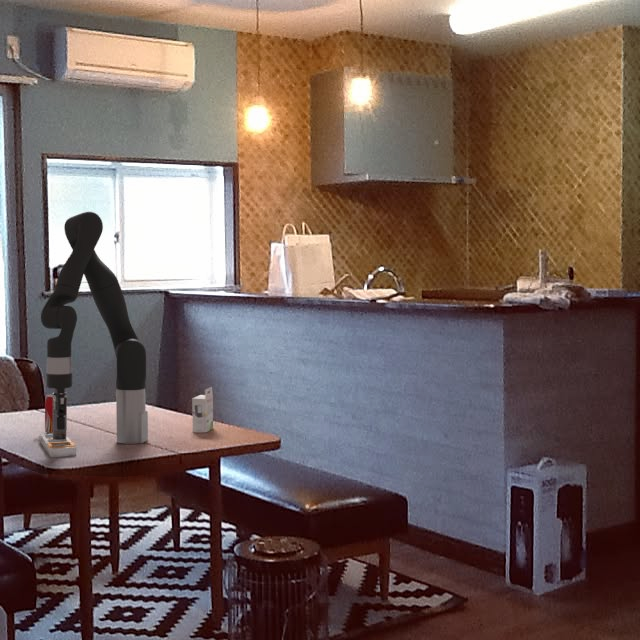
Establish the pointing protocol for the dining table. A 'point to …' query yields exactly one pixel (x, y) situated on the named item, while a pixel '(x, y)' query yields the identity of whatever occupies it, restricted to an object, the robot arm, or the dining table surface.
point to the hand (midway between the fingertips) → (59, 427)
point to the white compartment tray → (57, 446)
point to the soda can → (50, 414)
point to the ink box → (203, 412)
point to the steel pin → (57, 433)
